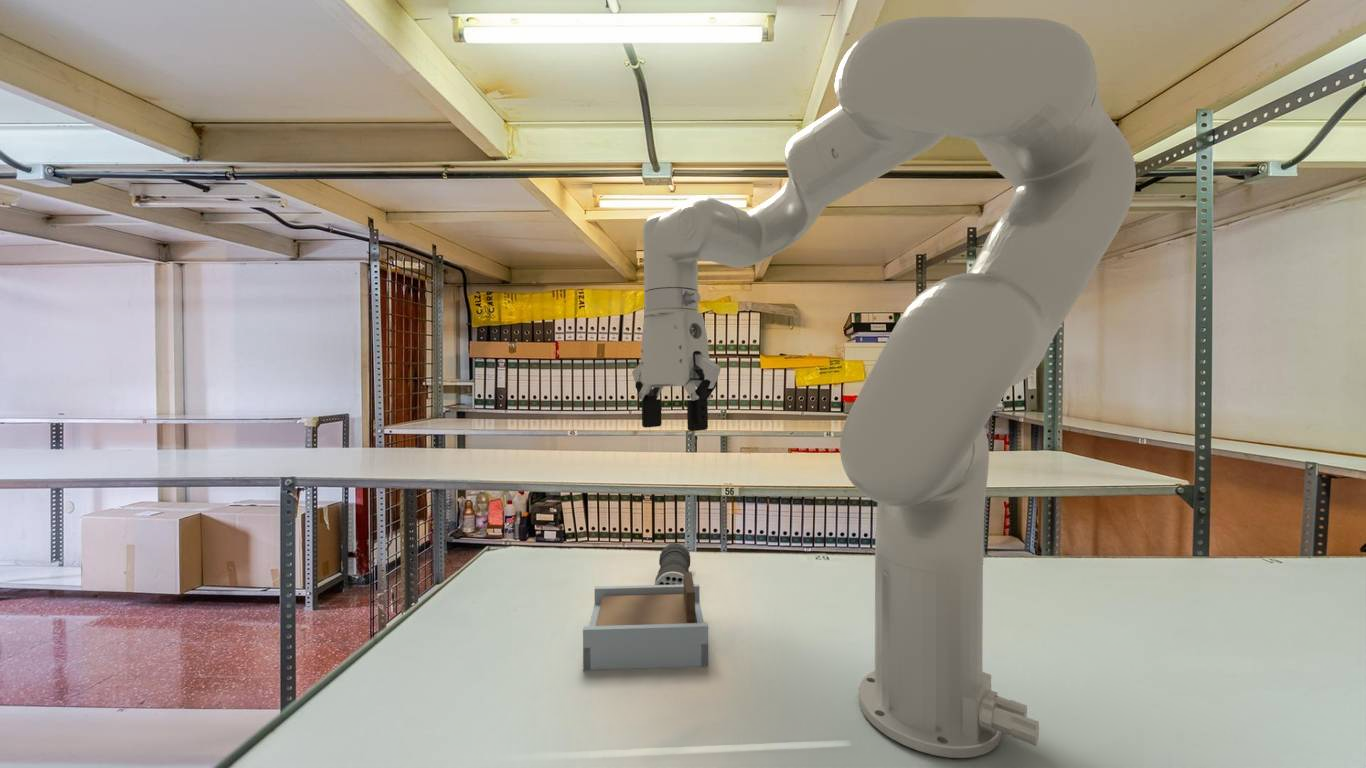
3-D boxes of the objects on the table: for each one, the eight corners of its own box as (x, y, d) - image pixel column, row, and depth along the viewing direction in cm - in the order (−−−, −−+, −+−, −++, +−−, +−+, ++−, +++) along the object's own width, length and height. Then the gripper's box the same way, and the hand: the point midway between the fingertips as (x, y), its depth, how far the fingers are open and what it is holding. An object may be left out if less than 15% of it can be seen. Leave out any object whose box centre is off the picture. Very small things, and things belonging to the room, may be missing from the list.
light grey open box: (699, 620, 71) (698, 583, 71) (708, 670, 59) (708, 626, 59) (595, 623, 70) (595, 586, 70) (583, 674, 58) (583, 629, 58)
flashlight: (659, 571, 89) (659, 539, 89) (690, 571, 89) (690, 539, 89) (653, 610, 74) (653, 572, 74) (691, 610, 74) (691, 572, 74)
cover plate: (691, 602, 69) (691, 567, 69) (697, 638, 60) (697, 598, 60) (602, 604, 69) (602, 569, 69) (594, 642, 59) (594, 600, 59)
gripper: (735, 300, 69) (738, 429, 69) (653, 315, 81) (655, 424, 81) (694, 294, 64) (697, 434, 64) (613, 311, 76) (615, 427, 76)
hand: (673, 428), depth 72 cm, fingers open, 9 cm apart
